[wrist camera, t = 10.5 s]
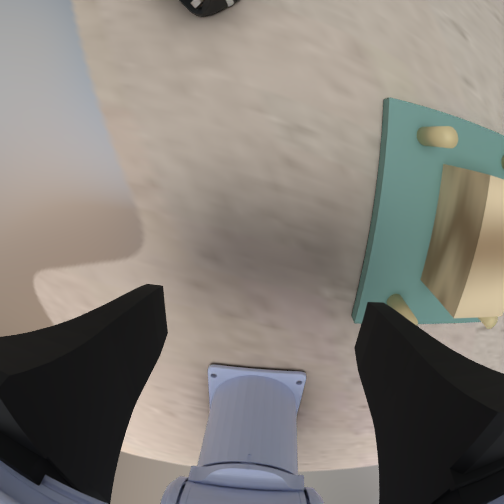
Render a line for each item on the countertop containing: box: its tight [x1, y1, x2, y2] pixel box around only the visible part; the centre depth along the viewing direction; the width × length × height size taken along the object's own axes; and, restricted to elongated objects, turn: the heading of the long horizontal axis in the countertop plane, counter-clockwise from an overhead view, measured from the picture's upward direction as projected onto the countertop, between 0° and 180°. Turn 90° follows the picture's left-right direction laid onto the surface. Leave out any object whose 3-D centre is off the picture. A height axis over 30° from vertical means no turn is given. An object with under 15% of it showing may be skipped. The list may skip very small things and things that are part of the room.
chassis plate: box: [352, 98, 504, 329], centre depth 16 cm, size 15×13×4 cm
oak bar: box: [420, 164, 504, 318], centre depth 14 cm, size 8×4×5 cm, turn 177°
